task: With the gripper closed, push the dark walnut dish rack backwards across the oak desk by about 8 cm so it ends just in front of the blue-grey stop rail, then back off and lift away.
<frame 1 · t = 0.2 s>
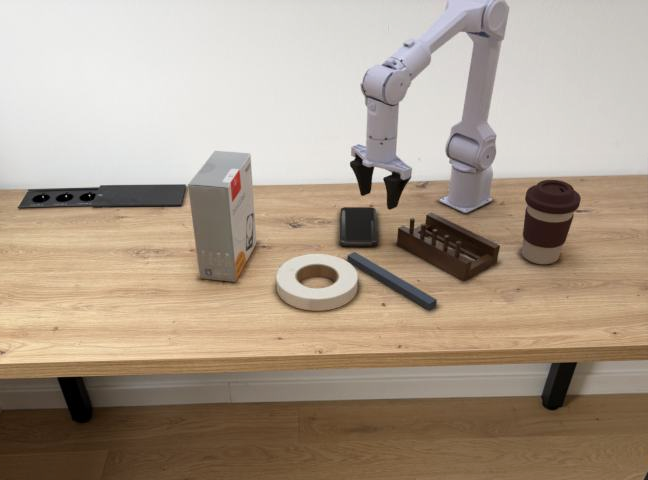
hand: (378, 200, 135), 10 cm above the table, tool pointing down, fingers open, 7 cm apart
stop rail: (389, 282, 131), on the table
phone: (358, 229, 147), on the table
coffee cup: (539, 256, 137), on the table
rack: (445, 253, 138), on the table
tape roll: (316, 288, 130), on the table
hard drive box: (229, 261, 138), on the table
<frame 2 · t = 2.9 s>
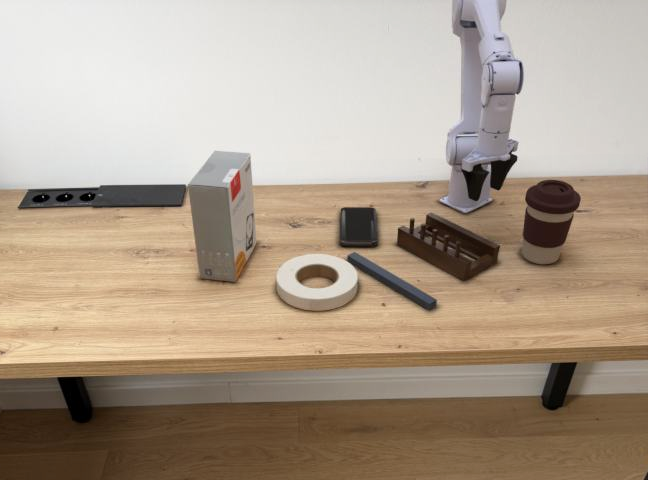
hand: (484, 193, 137), 10 cm above the table, tool pointing down, fingers open, 6 cm apart
nothing on the table moved.
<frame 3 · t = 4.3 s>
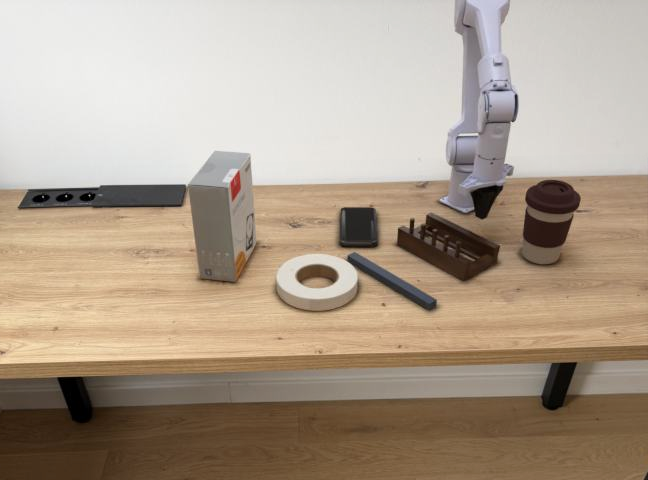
hand: (480, 216, 140), 5 cm above the table, tool pointing down, fingers closed
nothing on the table moved.
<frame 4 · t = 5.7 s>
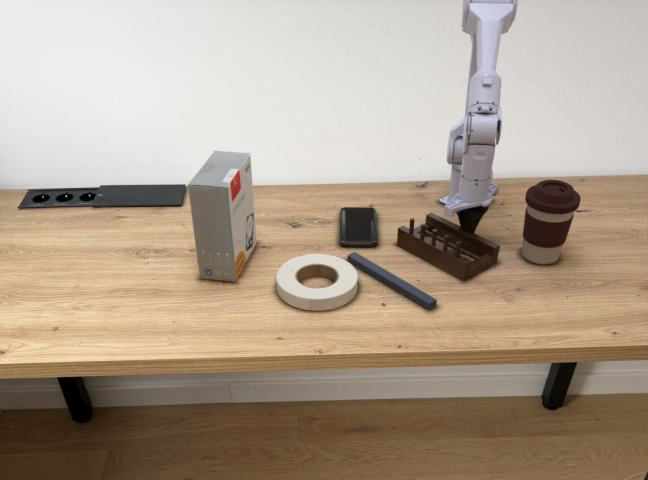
hand: (466, 236, 140), 2 cm above the table, tool pointing down, fingers closed
rack: (445, 253, 138), on the table, touching gripper
everything else where it was.
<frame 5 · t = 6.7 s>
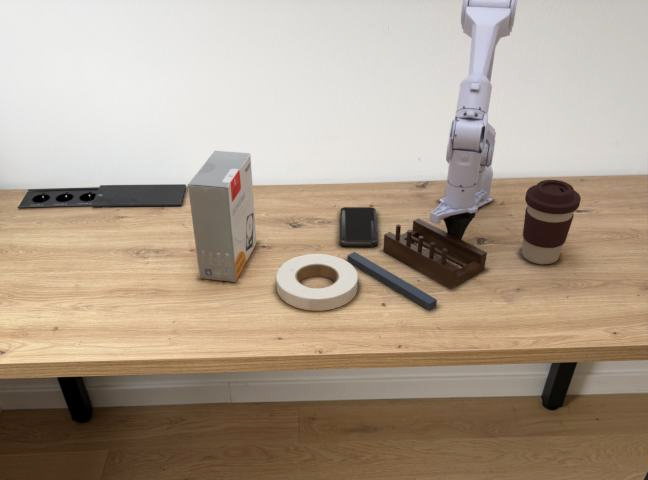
hand: (454, 243, 139), 2 cm above the table, tool pointing down, fingers closed
rack: (432, 260, 137), on the table, touching gripper
everything else where it was.
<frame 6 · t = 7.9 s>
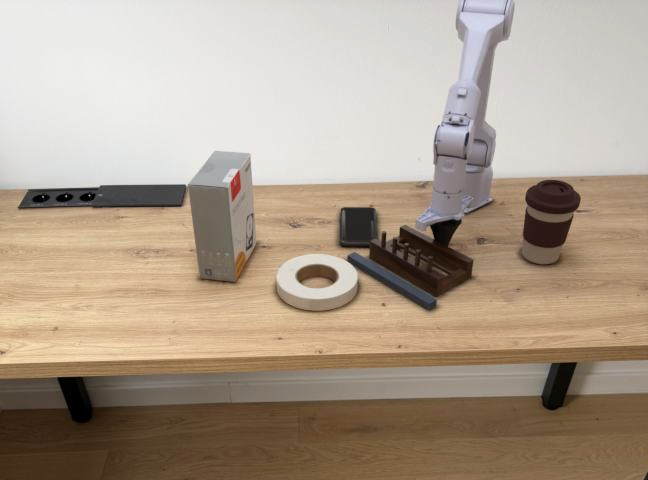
hand: (440, 249, 137), 2 cm above the table, tool pointing down, fingers closed
rack: (419, 267, 135), on the table, touching gripper
everything else where it was.
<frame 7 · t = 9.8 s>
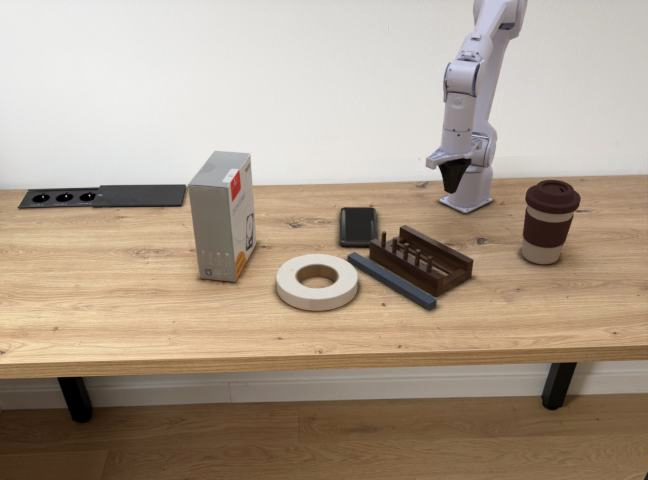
hand: (450, 191, 139), 9 cm above the table, tool pointing down, fingers closed
rack: (419, 267, 135), on the table
everything else where it was.
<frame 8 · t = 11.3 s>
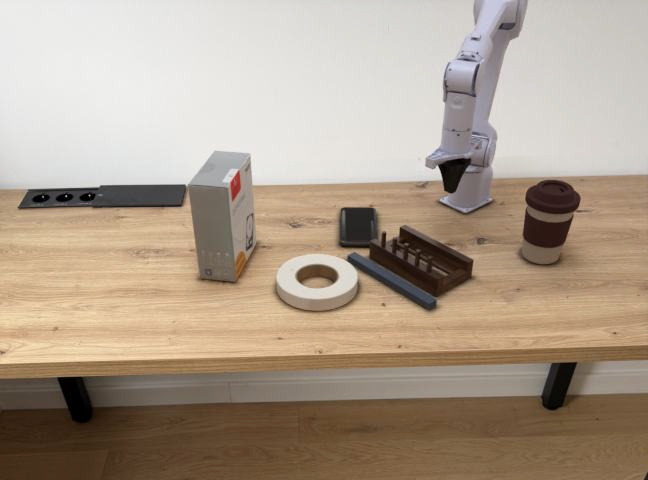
hand: (449, 191, 139), 9 cm above the table, tool pointing down, fingers closed
nothing on the table moved.
at the end: rack 0.4 cm from the target spot, on the table; rack moved 7.9 cm from its start; rack tilted 0° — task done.
